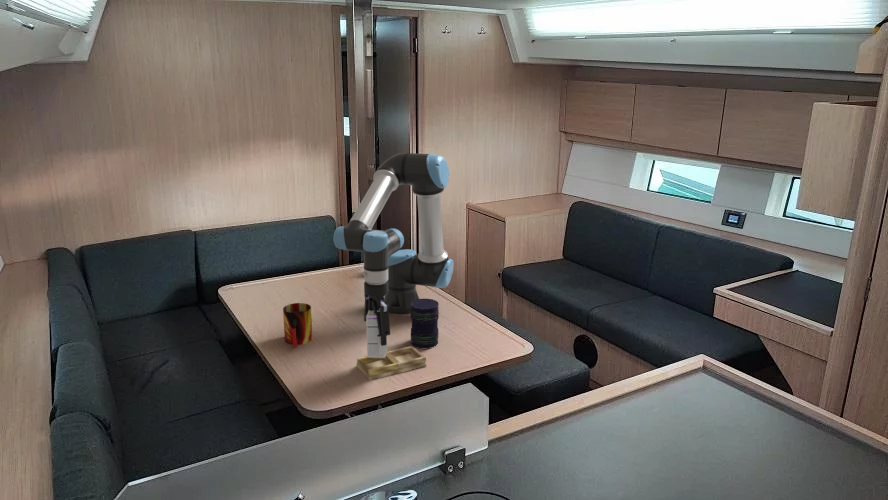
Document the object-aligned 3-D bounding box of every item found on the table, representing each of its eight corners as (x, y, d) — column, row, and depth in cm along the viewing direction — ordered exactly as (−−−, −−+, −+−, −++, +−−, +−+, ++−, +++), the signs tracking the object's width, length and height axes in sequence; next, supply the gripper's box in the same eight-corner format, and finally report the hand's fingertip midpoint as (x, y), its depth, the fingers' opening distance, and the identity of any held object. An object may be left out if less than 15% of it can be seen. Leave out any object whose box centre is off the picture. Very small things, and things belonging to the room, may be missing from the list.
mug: (293, 351, 221) (292, 319, 217) (281, 337, 232) (279, 305, 229) (320, 345, 226) (319, 313, 222) (307, 331, 237) (305, 301, 234)
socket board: (411, 353, 221) (411, 345, 220) (426, 366, 212) (426, 358, 211) (356, 365, 211) (356, 357, 210) (370, 380, 202) (369, 371, 201)
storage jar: (428, 351, 223) (428, 310, 218) (405, 344, 228) (404, 304, 223) (443, 341, 231) (444, 302, 227) (420, 334, 236) (421, 296, 232)
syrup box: (385, 358, 205) (384, 315, 201) (366, 358, 205) (365, 315, 201) (387, 350, 210) (386, 308, 206) (369, 350, 210) (368, 308, 206)
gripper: (352, 273, 207) (354, 339, 214) (378, 293, 190) (379, 363, 197) (374, 270, 211) (375, 335, 217) (401, 289, 194) (401, 358, 200)
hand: (377, 348), depth 207 cm, fingers closed on syrup box, 7 cm apart
